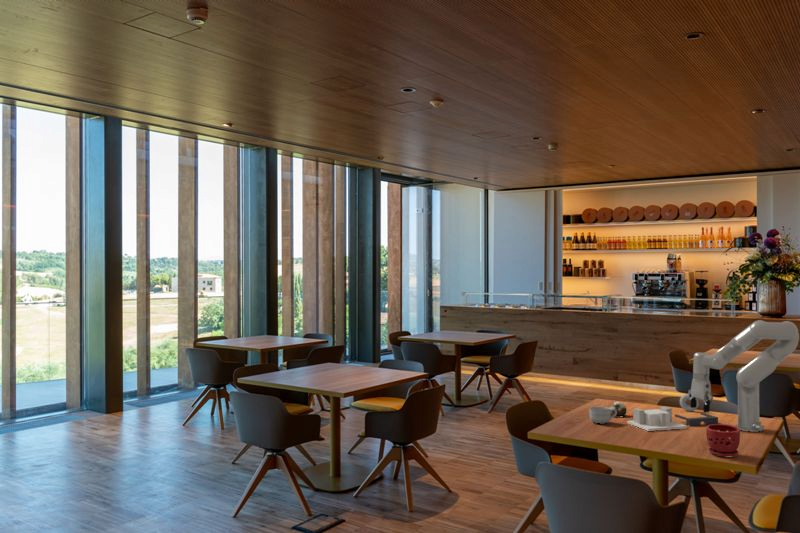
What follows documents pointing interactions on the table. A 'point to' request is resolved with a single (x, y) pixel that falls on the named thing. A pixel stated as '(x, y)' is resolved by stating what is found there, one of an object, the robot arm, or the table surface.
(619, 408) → the skull
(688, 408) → the donut
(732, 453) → the plant pot
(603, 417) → the teacup
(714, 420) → the glasses
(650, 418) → the white block structure
